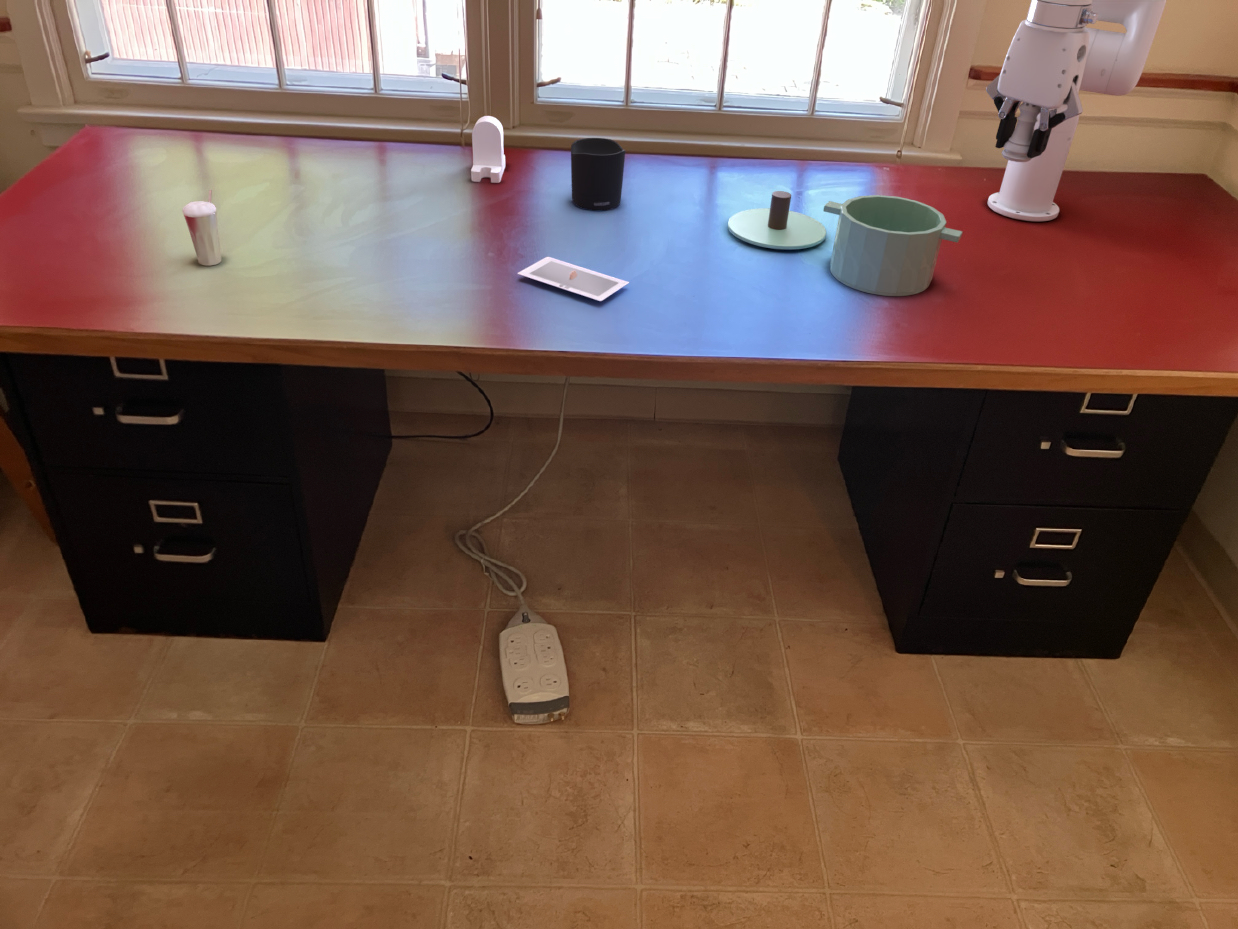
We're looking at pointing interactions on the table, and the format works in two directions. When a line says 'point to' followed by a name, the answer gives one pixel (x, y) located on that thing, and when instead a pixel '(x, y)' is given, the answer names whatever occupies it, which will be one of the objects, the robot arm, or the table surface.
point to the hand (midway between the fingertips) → (1018, 149)
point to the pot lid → (777, 226)
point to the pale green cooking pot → (887, 244)
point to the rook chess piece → (1022, 134)
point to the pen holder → (597, 173)
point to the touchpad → (573, 278)
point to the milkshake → (203, 230)
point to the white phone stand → (488, 150)
